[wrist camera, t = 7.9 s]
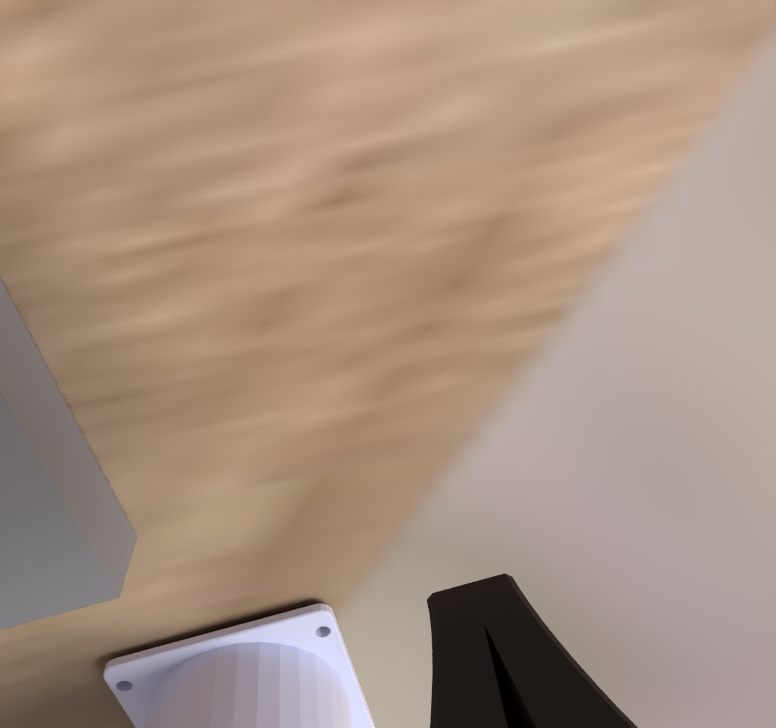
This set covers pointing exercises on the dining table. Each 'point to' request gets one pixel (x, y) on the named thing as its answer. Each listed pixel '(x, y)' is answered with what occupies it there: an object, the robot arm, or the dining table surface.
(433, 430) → the dining table surface
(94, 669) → the dining table surface
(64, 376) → the dining table surface
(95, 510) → the board
